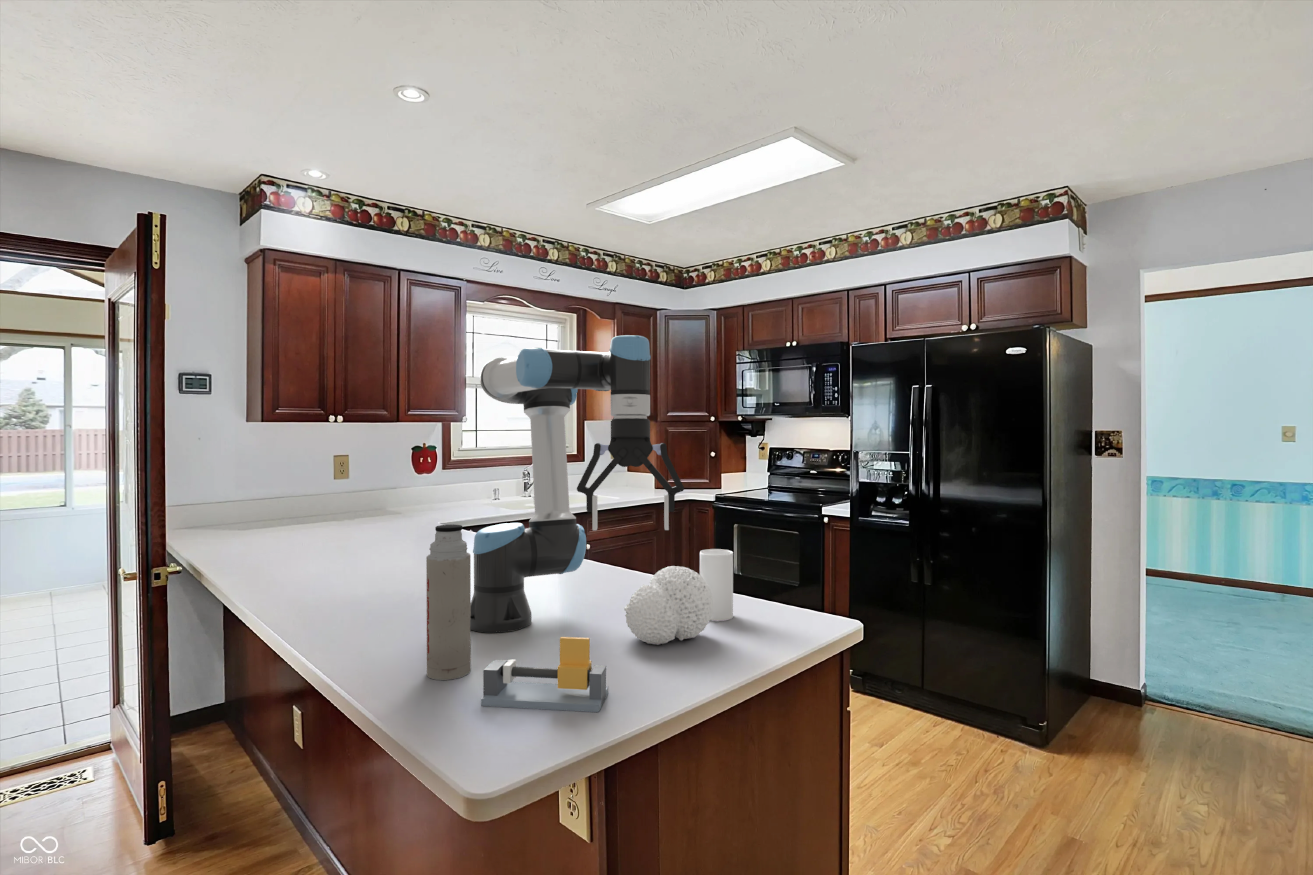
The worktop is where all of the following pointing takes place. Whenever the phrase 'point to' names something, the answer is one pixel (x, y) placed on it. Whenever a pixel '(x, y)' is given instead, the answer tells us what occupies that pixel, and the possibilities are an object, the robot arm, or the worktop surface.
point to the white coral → (670, 606)
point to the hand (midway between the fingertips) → (630, 529)
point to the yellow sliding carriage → (574, 663)
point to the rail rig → (540, 689)
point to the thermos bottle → (448, 605)
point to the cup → (719, 581)
